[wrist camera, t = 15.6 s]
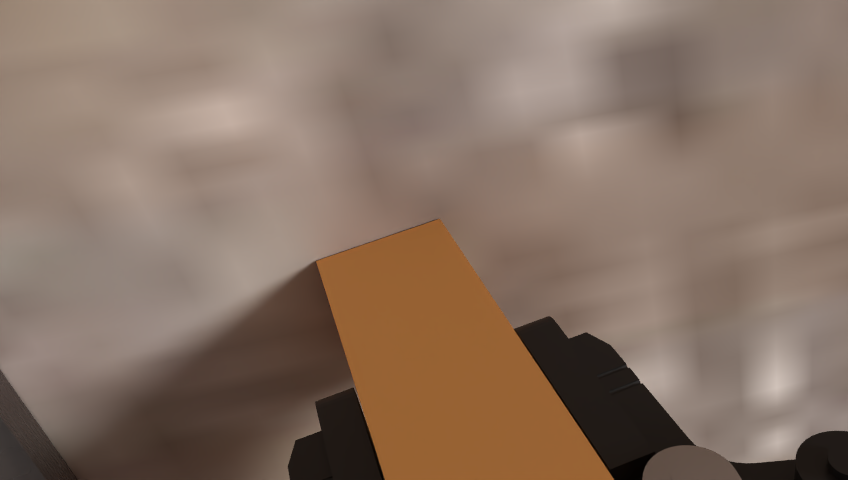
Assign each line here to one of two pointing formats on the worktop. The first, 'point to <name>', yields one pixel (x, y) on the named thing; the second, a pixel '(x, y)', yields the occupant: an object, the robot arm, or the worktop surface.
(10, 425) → the gray desk organizer
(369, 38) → the worktop surface
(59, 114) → the worktop surface
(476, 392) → the orange brown bar
